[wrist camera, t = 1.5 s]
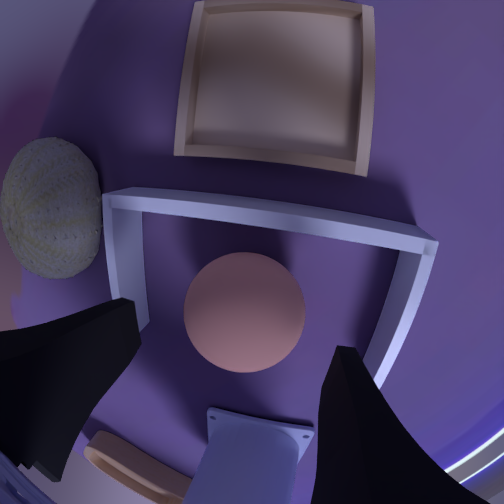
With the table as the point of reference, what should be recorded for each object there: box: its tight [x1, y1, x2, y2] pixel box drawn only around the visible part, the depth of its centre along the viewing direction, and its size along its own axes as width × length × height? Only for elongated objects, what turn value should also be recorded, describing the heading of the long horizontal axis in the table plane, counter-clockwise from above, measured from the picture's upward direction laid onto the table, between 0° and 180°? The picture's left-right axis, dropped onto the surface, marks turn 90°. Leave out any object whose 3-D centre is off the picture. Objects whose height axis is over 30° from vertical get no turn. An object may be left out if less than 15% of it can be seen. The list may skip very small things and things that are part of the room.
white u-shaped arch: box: [102, 187, 439, 389], centre depth 12 cm, size 8×14×2 cm, turn 85°
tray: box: [174, 0, 375, 177], centre depth 9 cm, size 8×8×1 cm
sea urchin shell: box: [0, 136, 103, 279], centre depth 13 cm, size 9×8×8 cm
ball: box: [184, 252, 305, 372], centre depth 11 cm, size 5×5×5 cm
